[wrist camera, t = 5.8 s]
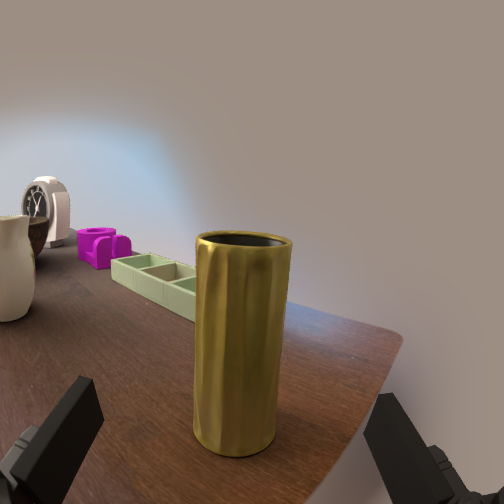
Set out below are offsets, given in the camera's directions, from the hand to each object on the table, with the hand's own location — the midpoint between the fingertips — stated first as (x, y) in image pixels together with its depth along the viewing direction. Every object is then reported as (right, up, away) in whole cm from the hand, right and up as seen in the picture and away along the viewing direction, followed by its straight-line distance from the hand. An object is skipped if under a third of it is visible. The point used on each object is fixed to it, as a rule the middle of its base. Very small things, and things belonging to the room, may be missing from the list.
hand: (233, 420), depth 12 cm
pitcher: (-35, -1, +20) cm, 40 cm away
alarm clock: (-60, +9, +61) cm, 86 cm away
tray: (-12, +1, +35) cm, 37 cm away
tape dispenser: (-34, +6, +51) cm, 62 cm away
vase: (-1, -6, +8) cm, 10 cm away
